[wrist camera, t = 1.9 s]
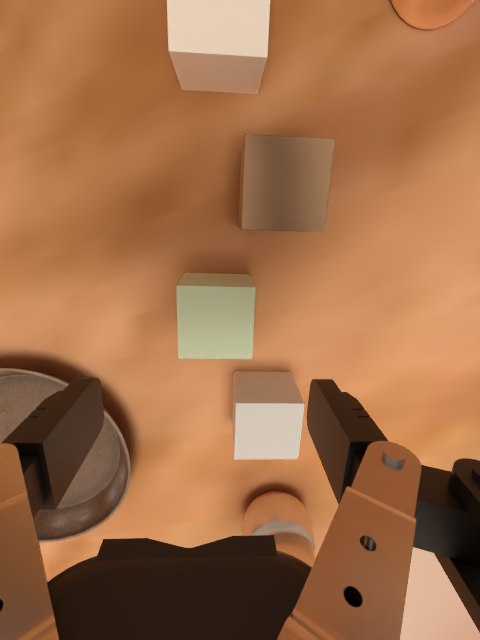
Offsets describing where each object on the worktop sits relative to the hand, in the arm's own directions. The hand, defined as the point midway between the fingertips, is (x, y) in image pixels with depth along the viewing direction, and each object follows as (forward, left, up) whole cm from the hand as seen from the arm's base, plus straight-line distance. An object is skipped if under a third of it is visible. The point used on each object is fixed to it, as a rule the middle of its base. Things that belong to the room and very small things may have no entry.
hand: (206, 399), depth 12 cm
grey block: (-4, +8, -14) cm, 17 cm away
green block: (0, 0, -14) cm, 14 cm away
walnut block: (-4, -9, -14) cm, 17 cm away
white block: (0, -17, -14) cm, 22 cm away
